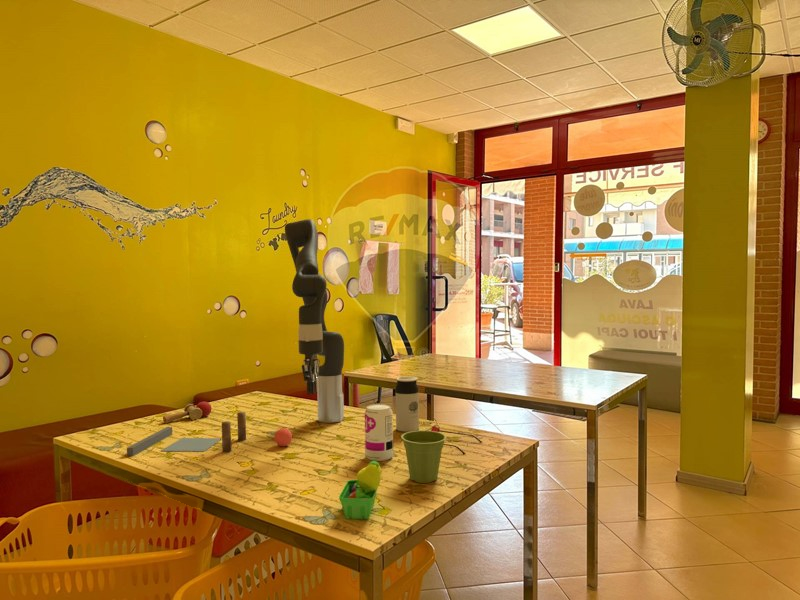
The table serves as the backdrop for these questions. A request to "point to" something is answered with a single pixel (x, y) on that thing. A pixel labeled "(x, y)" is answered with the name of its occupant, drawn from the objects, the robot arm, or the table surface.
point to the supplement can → (378, 432)
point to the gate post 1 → (226, 437)
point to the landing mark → (192, 444)
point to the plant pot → (423, 454)
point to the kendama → (190, 412)
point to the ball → (283, 437)
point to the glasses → (450, 432)
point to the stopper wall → (149, 441)
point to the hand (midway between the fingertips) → (311, 392)
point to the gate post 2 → (241, 426)
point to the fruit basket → (361, 492)
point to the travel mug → (407, 404)
